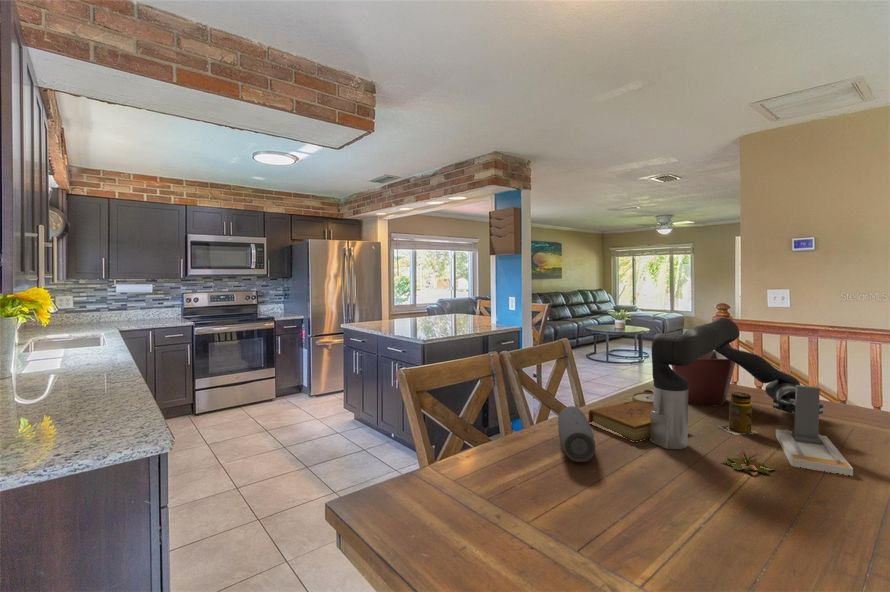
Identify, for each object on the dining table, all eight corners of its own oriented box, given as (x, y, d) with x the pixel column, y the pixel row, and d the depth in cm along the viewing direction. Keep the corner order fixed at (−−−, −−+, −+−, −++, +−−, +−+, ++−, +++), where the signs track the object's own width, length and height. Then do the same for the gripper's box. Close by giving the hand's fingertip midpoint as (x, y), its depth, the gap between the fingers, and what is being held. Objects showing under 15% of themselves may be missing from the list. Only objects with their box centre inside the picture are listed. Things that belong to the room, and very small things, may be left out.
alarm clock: (625, 397, 167) (647, 384, 175) (626, 408, 167) (648, 395, 175) (652, 404, 157) (674, 390, 165) (653, 416, 158) (675, 402, 166)
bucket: (736, 397, 173) (738, 336, 172) (740, 412, 155) (741, 344, 153) (669, 389, 186) (670, 333, 185) (664, 402, 168) (665, 340, 166)
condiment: (758, 433, 135) (759, 396, 134) (734, 435, 133) (735, 398, 133) (739, 425, 142) (740, 390, 141) (716, 427, 141) (717, 391, 140)
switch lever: (791, 435, 127) (792, 383, 126) (817, 439, 124) (819, 386, 123) (794, 440, 123) (795, 387, 122) (821, 443, 120) (822, 389, 119)
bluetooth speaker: (597, 468, 112) (598, 431, 112) (561, 465, 114) (561, 429, 114) (586, 436, 135) (587, 405, 134) (556, 434, 136) (556, 403, 136)
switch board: (775, 435, 133) (775, 426, 132) (826, 442, 127) (826, 432, 126) (791, 466, 112) (792, 455, 112) (852, 476, 106) (853, 464, 106)
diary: (634, 415, 156) (634, 399, 155) (682, 431, 139) (683, 414, 139) (588, 425, 145) (588, 408, 145) (634, 444, 129) (634, 425, 128)
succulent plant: (740, 456, 120) (740, 440, 119) (787, 474, 108) (788, 457, 108) (710, 463, 115) (710, 446, 115) (756, 483, 104) (756, 465, 104)
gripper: (767, 385, 144) (776, 398, 129) (818, 390, 137) (833, 405, 122) (766, 407, 144) (775, 423, 129) (817, 413, 137) (833, 430, 123)
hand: (804, 414), depth 126 cm, fingers closed
